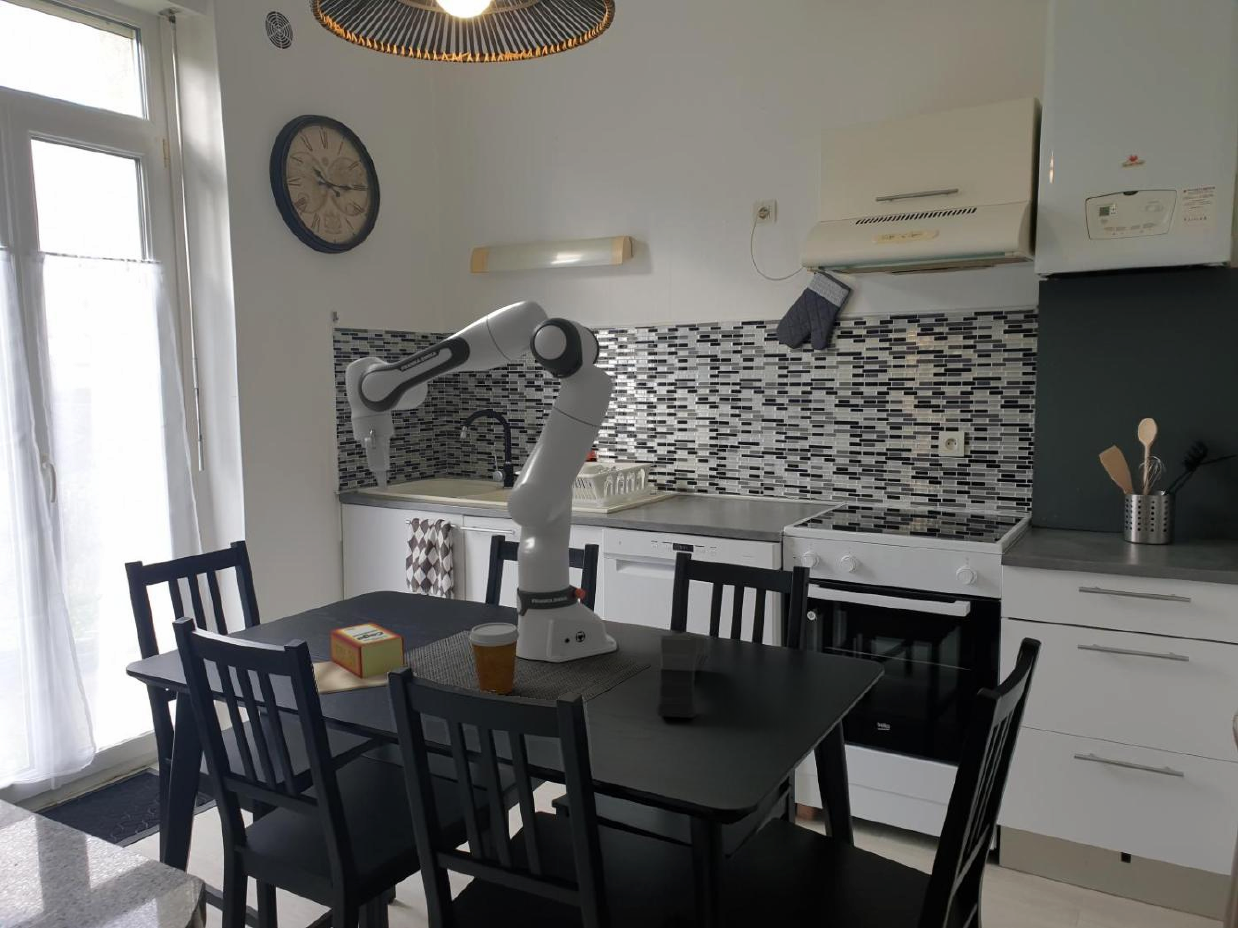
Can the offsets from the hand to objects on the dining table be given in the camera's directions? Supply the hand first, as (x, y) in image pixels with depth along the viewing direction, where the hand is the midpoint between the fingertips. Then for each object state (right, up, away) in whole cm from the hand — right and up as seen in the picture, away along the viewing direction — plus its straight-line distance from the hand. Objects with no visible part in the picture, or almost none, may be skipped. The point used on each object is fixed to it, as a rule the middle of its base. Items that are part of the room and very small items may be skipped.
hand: (383, 490), depth 209 cm
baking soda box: (-5, -32, -10) cm, 34 cm away
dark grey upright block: (+66, -37, -36) cm, 83 cm away
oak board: (0, -37, -20) cm, 42 cm away
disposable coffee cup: (+30, -37, -31) cm, 57 cm away
